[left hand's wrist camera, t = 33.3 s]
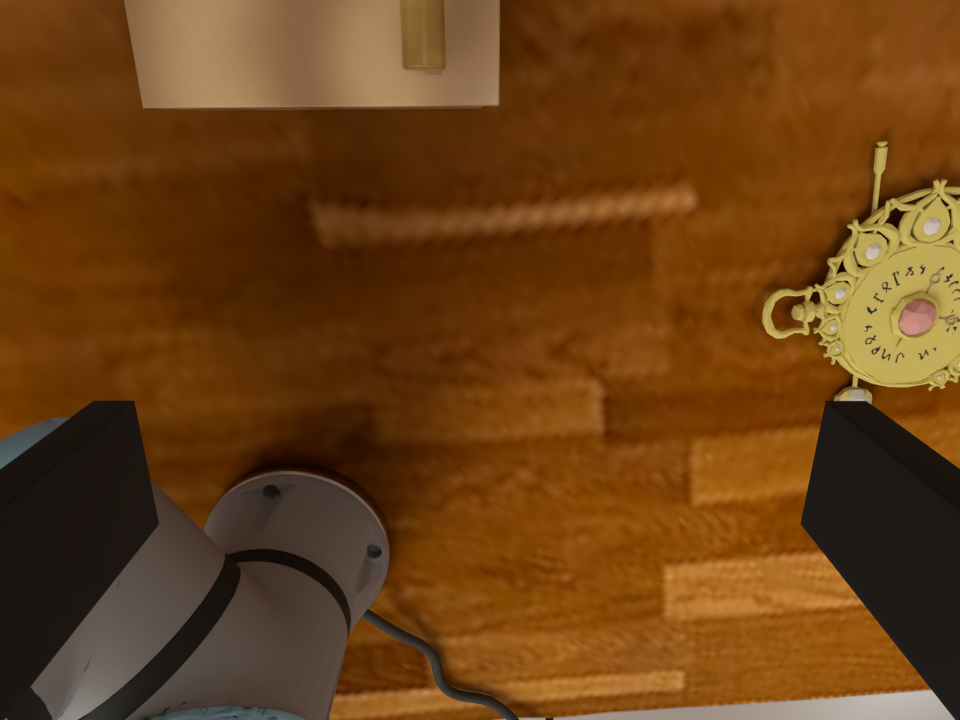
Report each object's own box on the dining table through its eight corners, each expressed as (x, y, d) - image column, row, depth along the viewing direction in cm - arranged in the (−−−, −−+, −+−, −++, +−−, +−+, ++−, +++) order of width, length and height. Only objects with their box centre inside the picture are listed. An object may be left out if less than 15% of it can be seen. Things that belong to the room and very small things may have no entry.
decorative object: (1026, 413, 48) (763, 444, 48) (1000, 400, 51) (749, 429, 50) (1090, 122, 41) (781, 155, 41) (1056, 122, 44) (763, 153, 43)
